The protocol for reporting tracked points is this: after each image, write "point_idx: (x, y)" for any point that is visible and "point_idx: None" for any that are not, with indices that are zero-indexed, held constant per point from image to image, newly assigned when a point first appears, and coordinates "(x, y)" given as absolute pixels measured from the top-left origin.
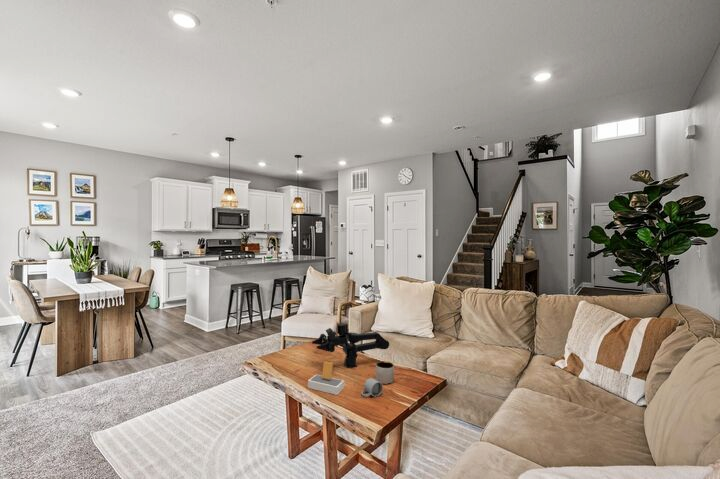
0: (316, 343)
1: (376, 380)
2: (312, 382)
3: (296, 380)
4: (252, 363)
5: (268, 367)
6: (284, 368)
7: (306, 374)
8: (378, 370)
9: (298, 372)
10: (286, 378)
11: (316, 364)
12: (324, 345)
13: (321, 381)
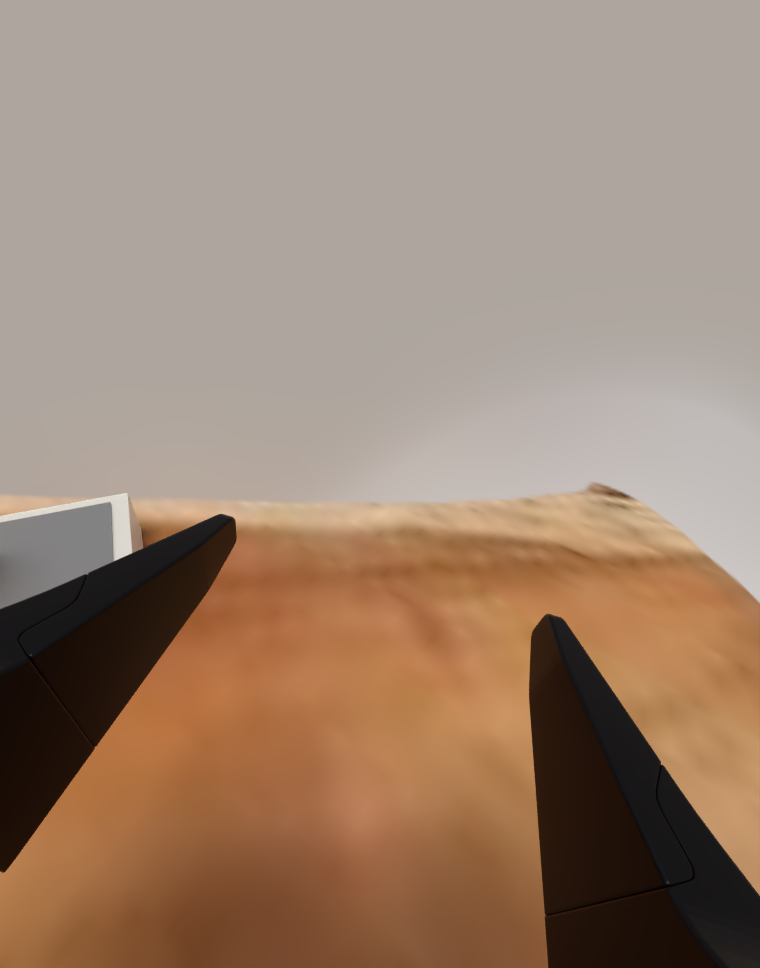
0: (540, 759)
1: None
2: (81, 506)
3: (286, 538)
4: (620, 500)
5: (547, 524)
6: (503, 579)
7: (317, 643)
8: None
9: (391, 615)
10: (353, 516)
11: (495, 950)
12: (10, 625)
13: None
